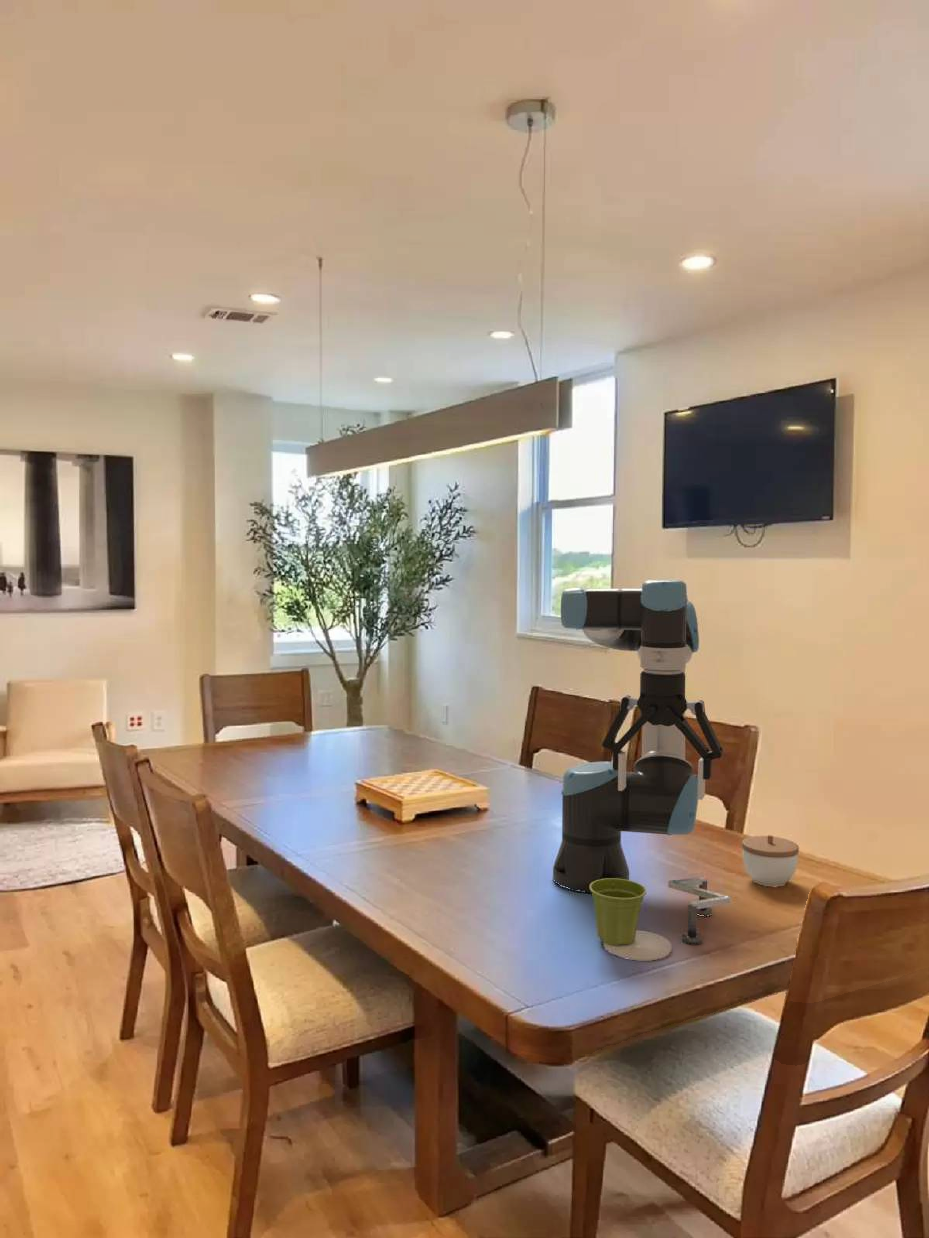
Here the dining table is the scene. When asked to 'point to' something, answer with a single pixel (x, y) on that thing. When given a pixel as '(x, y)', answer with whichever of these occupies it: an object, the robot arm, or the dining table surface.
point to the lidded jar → (770, 859)
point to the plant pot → (617, 909)
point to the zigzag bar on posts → (697, 904)
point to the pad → (642, 947)
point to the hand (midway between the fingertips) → (660, 793)
